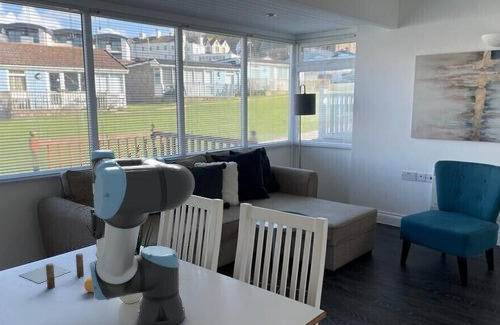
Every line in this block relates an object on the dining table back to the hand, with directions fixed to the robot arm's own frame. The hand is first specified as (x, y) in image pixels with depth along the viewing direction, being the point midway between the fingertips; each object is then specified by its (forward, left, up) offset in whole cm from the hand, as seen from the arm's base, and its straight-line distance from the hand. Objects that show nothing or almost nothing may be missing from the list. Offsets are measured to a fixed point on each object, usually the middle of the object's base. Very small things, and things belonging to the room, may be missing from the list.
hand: (107, 258), depth 144 cm
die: (+30, -22, -15) cm, 40 cm away
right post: (+26, -6, -15) cm, 30 cm away
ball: (+10, 0, -12) cm, 15 cm away
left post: (+26, +6, -15) cm, 30 cm away
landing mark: (+40, 0, -15) cm, 42 cm away
